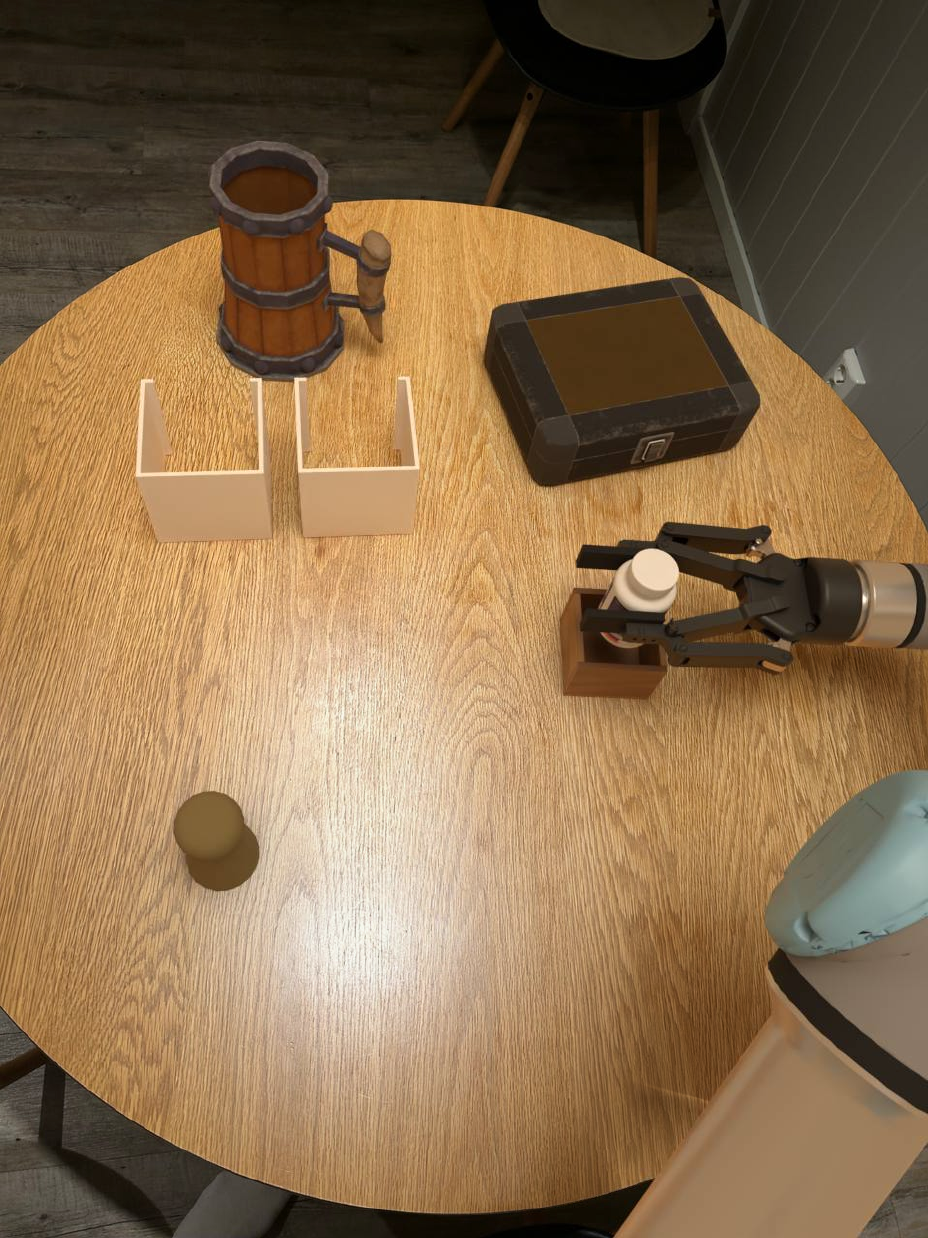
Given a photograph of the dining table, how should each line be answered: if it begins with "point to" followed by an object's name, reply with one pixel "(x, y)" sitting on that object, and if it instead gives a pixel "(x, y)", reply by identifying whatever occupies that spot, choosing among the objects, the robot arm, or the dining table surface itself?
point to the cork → (216, 841)
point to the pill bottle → (641, 588)
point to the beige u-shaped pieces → (244, 496)
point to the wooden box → (604, 657)
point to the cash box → (617, 379)
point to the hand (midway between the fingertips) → (582, 587)
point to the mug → (286, 263)
